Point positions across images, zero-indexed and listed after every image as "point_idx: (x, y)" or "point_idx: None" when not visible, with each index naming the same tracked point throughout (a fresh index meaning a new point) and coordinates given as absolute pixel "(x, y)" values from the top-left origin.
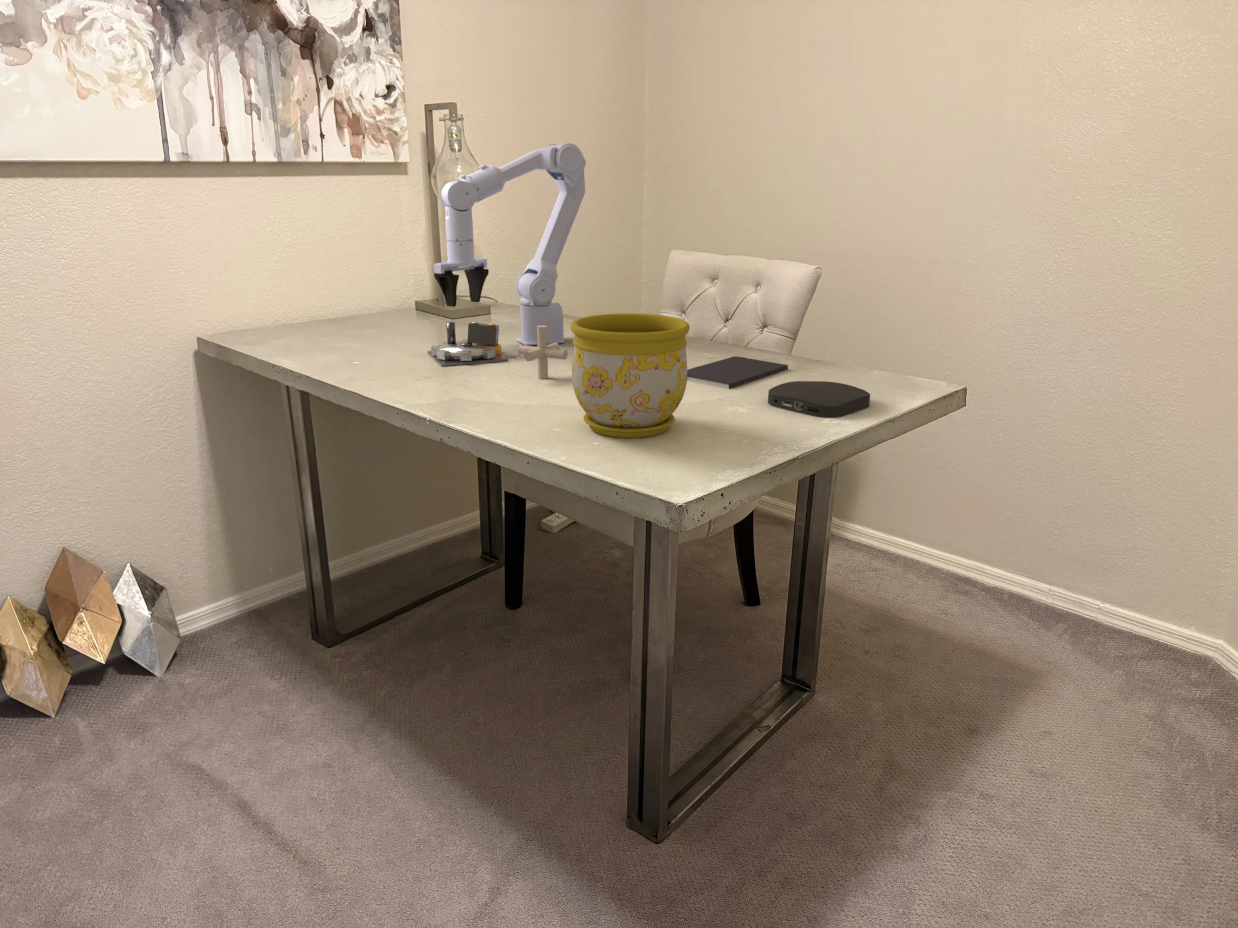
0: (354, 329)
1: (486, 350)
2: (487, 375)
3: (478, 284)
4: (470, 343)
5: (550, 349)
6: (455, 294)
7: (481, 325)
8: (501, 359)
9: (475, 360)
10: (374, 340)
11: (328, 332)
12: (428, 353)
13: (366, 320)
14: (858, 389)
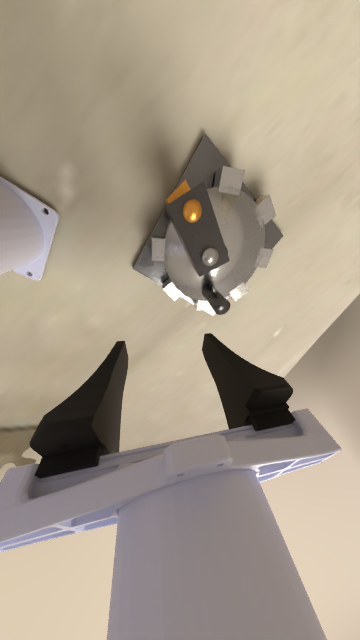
0: (157, 424)
1: (239, 178)
2: (342, 70)
3: (112, 380)
4: None
5: None
6: (221, 350)
7: (218, 228)
8: (215, 148)
9: None
10: (183, 390)
11: (178, 423)
12: None
13: (122, 443)
14: None
